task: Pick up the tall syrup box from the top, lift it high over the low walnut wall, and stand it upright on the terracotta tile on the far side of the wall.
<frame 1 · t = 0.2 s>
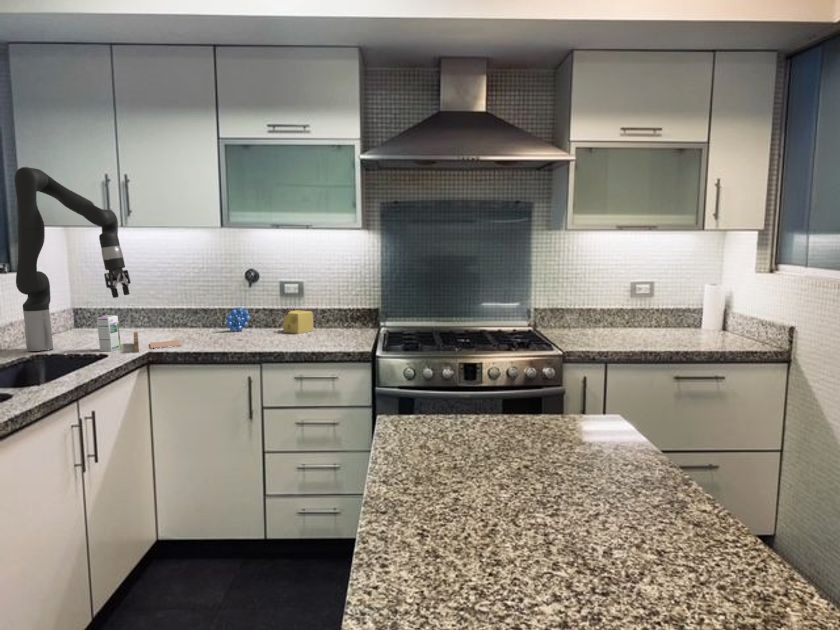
hand: (121, 296, 246), 23 cm above the counter, tool pointing down, fingers open, 8 cm apart
grapes: (238, 331, 290), on the counter
walnut wall: (136, 347, 252), on the counter
cheese: (299, 332, 288), on the counter
syrup box: (110, 350, 247), on the counter
terracotta tile: (165, 345, 256), on the counter
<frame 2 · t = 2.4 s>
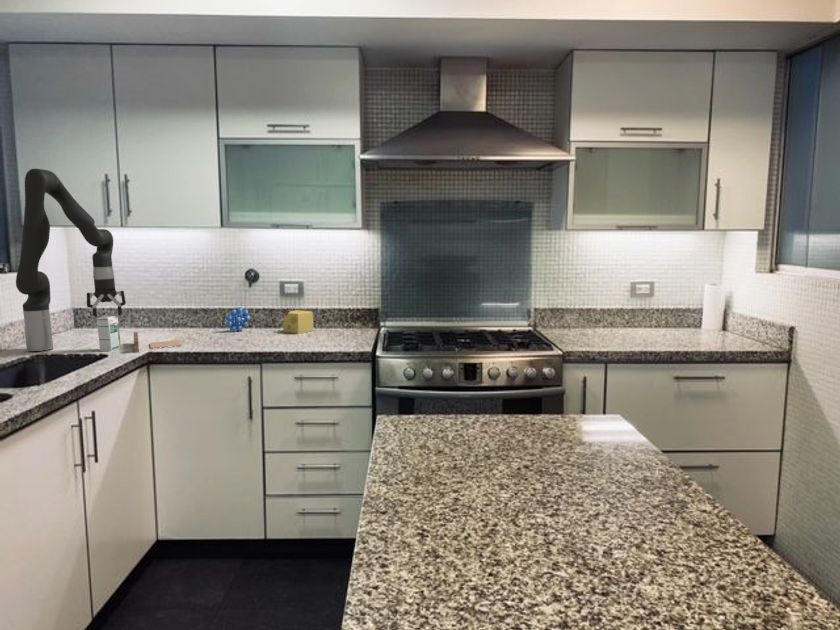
hand: (107, 316, 245), 14 cm above the counter, tool pointing down, fingers open, 8 cm apart
syrup box: (110, 350, 247), on the counter, touching gripper
everything else where it was.
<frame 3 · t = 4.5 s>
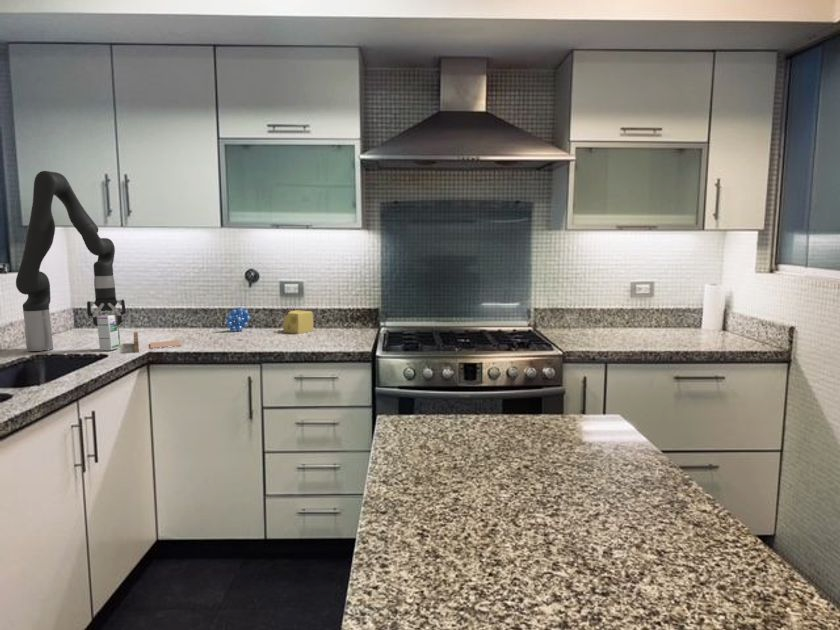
hand: (107, 325, 246), 11 cm above the counter, tool pointing down, fingers closed on syrup box, 8 cm apart
syrup box: (110, 349, 247), on the counter, touching gripper
everything else where it was.
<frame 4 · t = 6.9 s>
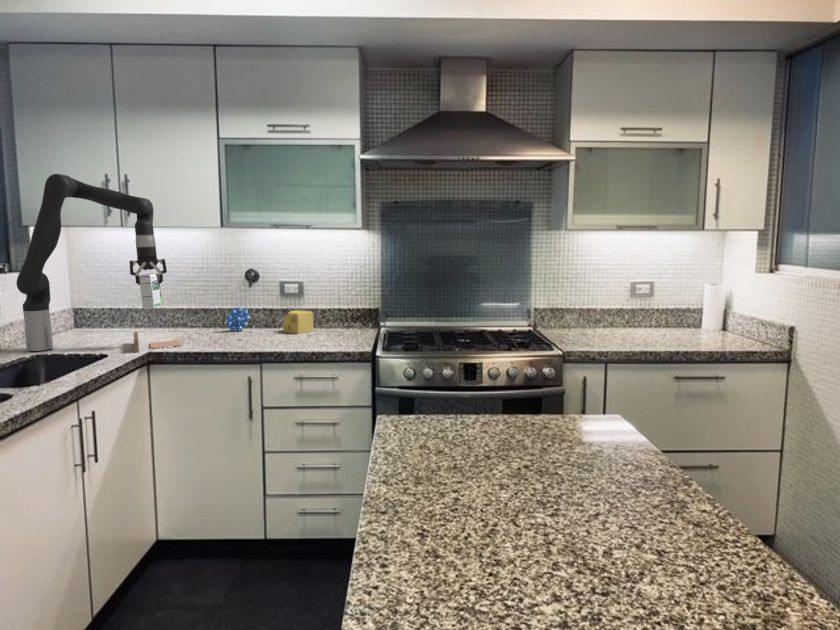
hand: (149, 284, 250), 27 cm above the counter, tool pointing down, fingers closed on syrup box, 8 cm apart
syrup box: (152, 307, 252), point 17 cm above the counter, touching gripper
everything else where it was.
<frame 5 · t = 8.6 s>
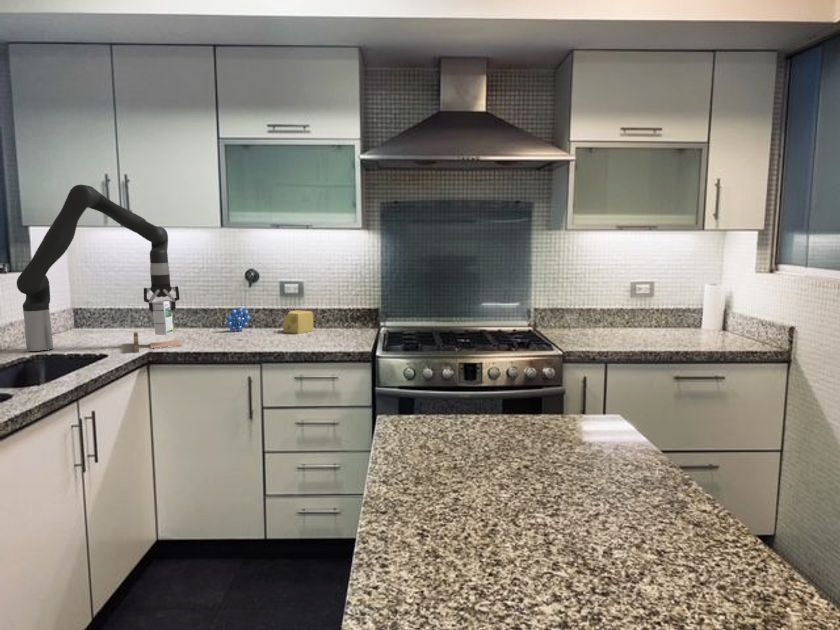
hand: (162, 310, 254), 15 cm above the counter, tool pointing down, fingers closed on syrup box, 8 cm apart
syrup box: (164, 334, 256), point 5 cm above the counter, touching gripper
everything else where it was.
when the fingers open (11 cm above the counter, at t = 10.2 s): syrup box stays where it is, resting on terracotta tile.
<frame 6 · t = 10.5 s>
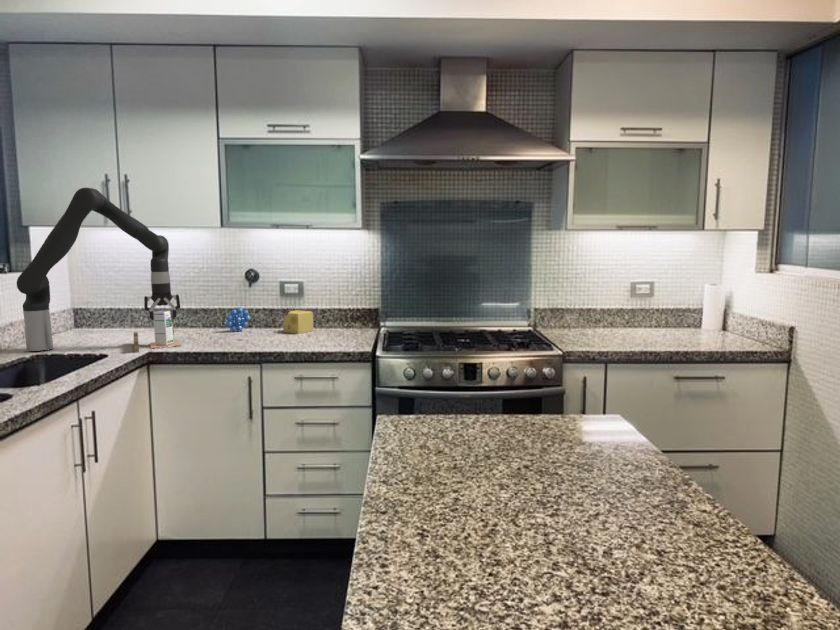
hand: (163, 319, 255), 12 cm above the counter, tool pointing down, fingers open, 8 cm apart
syrup box: (164, 344, 256), resting on terracotta tile, touching gripper
everything else where it was.
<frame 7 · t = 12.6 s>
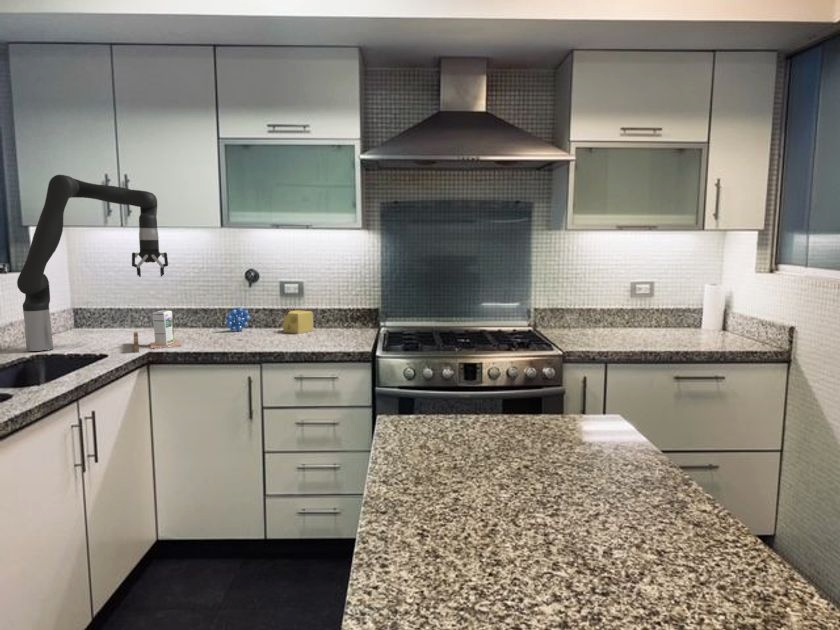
hand: (150, 276, 254), 30 cm above the counter, tool pointing down, fingers open, 8 cm apart
syrup box: (164, 344, 256), resting on terracotta tile
everything else where it was.
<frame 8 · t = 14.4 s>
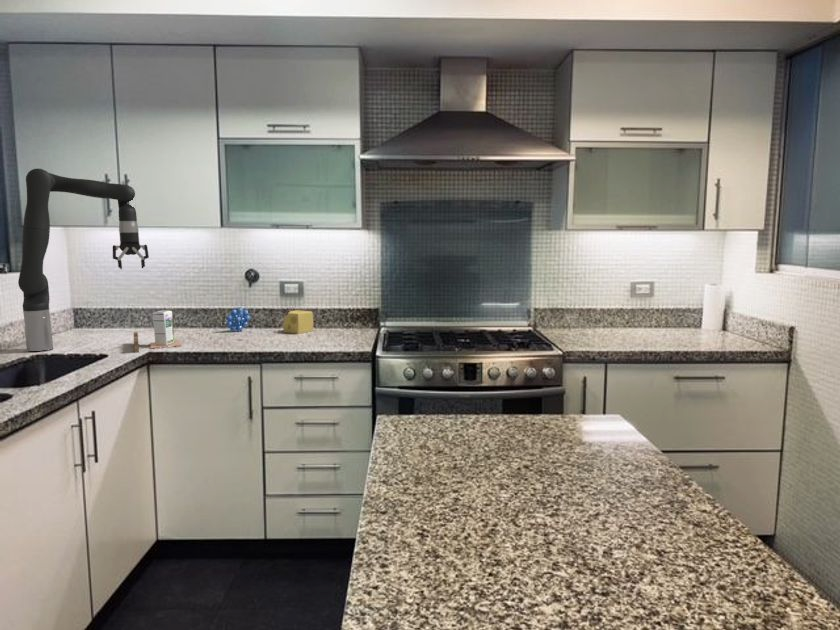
hand: (131, 268, 260), 33 cm above the counter, tool pointing down, fingers open, 8 cm apart
nothing on the counter moved.
at the end: syrup box inside the target area on the terracotta tile (0.2 cm from its centre), point 0.4 cm above the terracotta tile's base; syrup box tilted 0°; the gripper is holding nothing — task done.
